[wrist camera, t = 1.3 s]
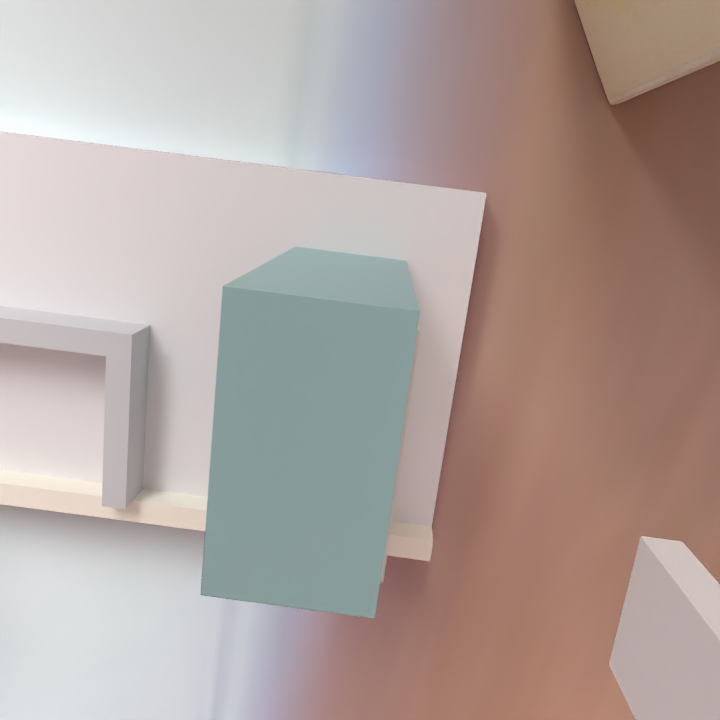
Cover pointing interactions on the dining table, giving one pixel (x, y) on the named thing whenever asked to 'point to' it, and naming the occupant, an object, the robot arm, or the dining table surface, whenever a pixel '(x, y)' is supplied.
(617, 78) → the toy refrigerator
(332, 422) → the teal carton
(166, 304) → the shelf
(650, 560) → the robot arm
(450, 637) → the dining table surface
